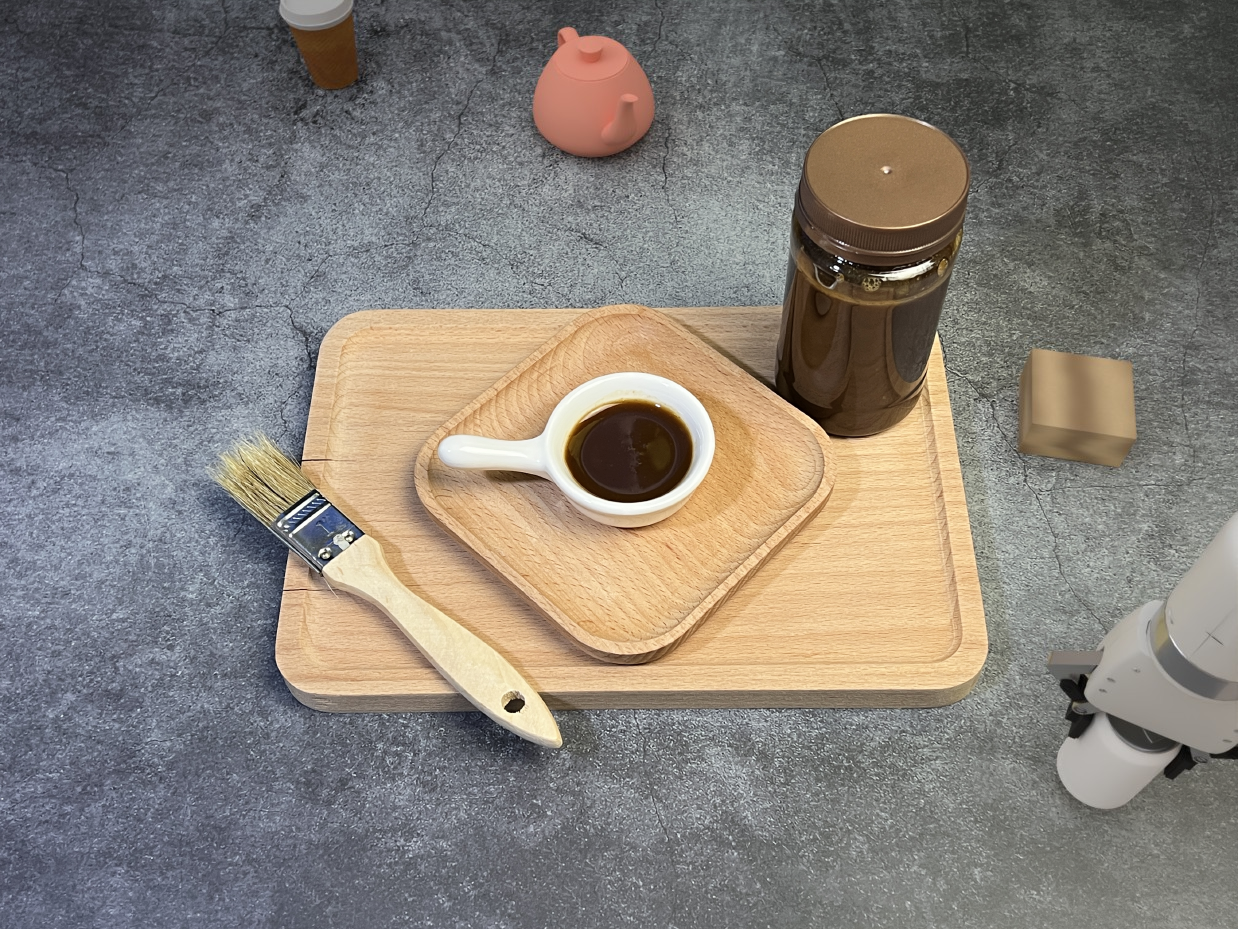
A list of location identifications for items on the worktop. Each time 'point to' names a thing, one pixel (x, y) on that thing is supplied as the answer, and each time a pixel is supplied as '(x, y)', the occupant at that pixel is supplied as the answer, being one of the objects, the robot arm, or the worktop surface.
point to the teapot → (592, 97)
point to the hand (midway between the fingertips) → (1123, 740)
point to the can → (1112, 761)
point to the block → (1076, 407)
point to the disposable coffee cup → (324, 39)
